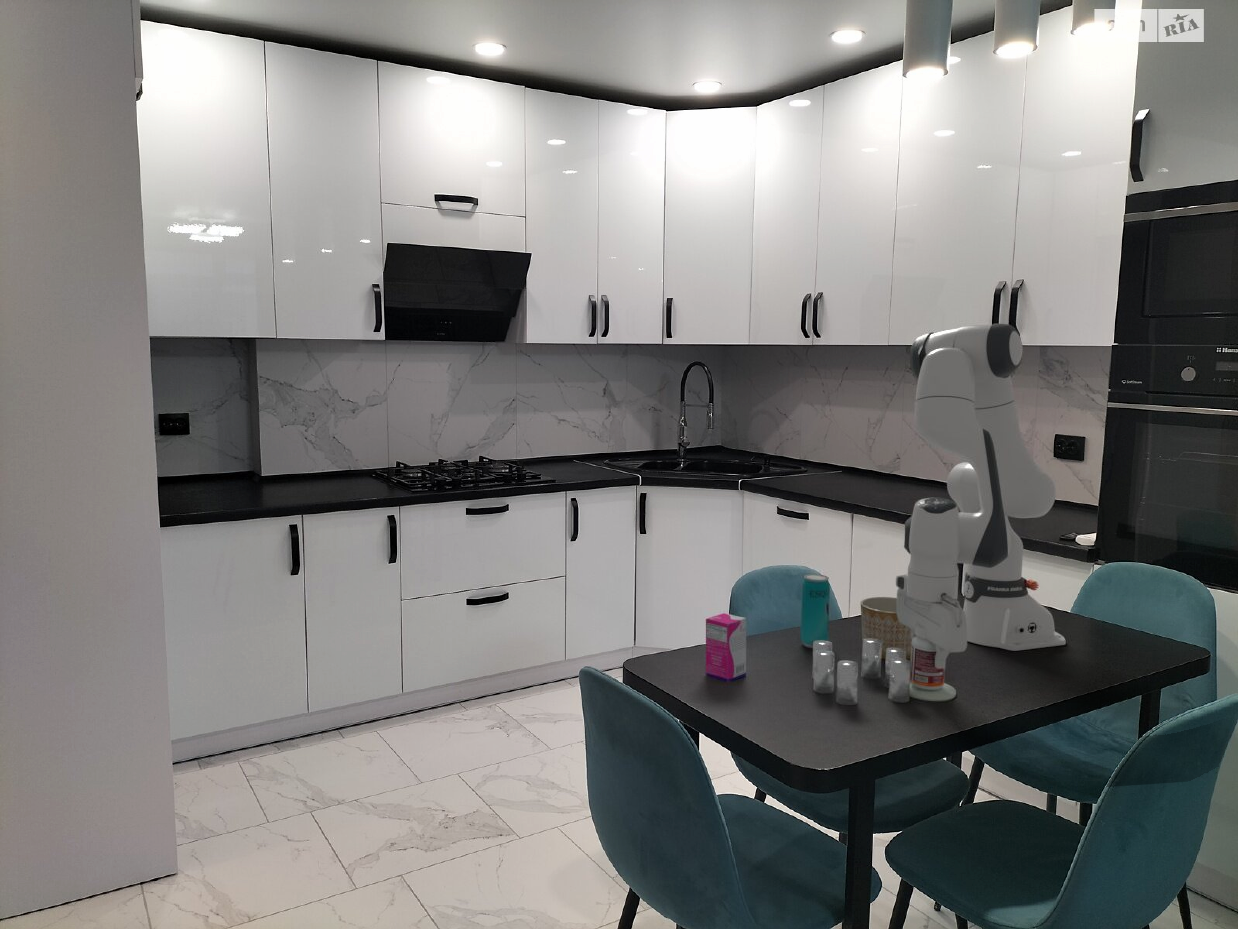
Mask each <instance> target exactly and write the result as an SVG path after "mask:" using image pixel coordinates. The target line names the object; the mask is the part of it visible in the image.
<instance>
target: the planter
mask: <svg viewBox="0 0 1238 929" xmlns="http://www.w3.org/2000/svg"><path fill="white" fill-rule="evenodd" d="M896 604H897V597H891V596H875V597H868V598H867V597H866V598H865V599H864V598H863V599H862V600H861V601H860V618H861V619H860V620H861V635H862V637H861V639H862V640H861V641H863V639H867V638H873V639H878V640H881V641H882V654H881V660H886V649H887V648H901V649H904V650H906V660H910V659H911V643H912V637H911V629H910V628H908V627H907V626H905V625H904V624H902V623H900V622H899V620H898V617H897V605H896Z"/></svg>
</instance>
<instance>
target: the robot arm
mask: <svg viewBox="0 0 1238 929" xmlns="http://www.w3.org/2000/svg"><path fill="white" fill-rule="evenodd" d="M1022 342H1023V341H1022V337H1021V335H1020V333H1019V331H1018V330H1017V329H1016V328H1015V327H1014V326H1012V325H1011V324H1007V323H992V324H990V325H989V324H981V325H980V324H978V325H977V324H976V325H965V326H961V327H957V328H951V329H946V330H943V331H942V330H941V331H937V332H929V333H925V334H923V335H920V336H918V337H917V338H916V339H915V341H914V342H912V345H911V347H910V350H909V364H910V369H911V372H912V373H913V375H914V376H915V377H916V379H917V384H916V390H915V391H916V392H915V401H914V423H915V424H914V425H915V429H916V431H917V433H918V434H919V436H920V437H921V438H922V439H923V440H924V441H925V442H926V443H928V444H929V445H931V446H932V447H934V448H936V449H938V450H939V451H942V452H944V453H948V454H949V455H953V456H955V457H957V458H959V459H961V460H963V462H961V463H960V462H959V463H957V464H955V465H954V467H953V468H952V469H951V470H950V472H949V474H948V477H947V481H946V485H947V486H946V489H947V492H948V495H949V497H950V498H951V499H952V500H951V499H948V498H946V497H945V498H943V497H927V498H922V499H919V500H917V501H916V502H915V504H914V506H913V510H912V514H911V516H910V517H909V518H907V520H906V521H905V522H904V543H903V544H904V545H903V548H904V550H905V551H906V552H907V553H908V554H909V555H910V560H909V564H908V567H907V573H906V574H900V575H896V577H895V586H896V588H898V589H897V591H896V598H897V604H896V605H897V617H898V620H899V622H900V623H902V624H904V625H905V626H907V627H908V628H910V629H911V637H912V639H913V638H914V637H915V636H916V635H915V624H916V623H917V624H919V625H920V626H921V627H923V628H924V629H926V639H927V640H929V641H931V642H932V643H934V644H935V645H936V648H935V649H936V650H937V652H936V656H935V657H933V662H932V664H933V666H935V667H936V668H938V669H941V668H945V669H946V665H945V663H947V662H946V660H947V658H948V656H949V654H950V653H963V652H965V651H966V649H967V647H968V642H969V643H973V644H977V645H980V646H985V647H986V646H987V647H991V648H1000V649H1003V650H1007V651H1013V652H1016V651H1025V650H1032V649H1041V648H1047V647H1048V648H1050V647H1057V646H1064V645H1066V639H1065V637H1064V636H1063V635H1062V634H1060V633H1059V632H1057V631H1055V628H1056V627H1055V620H1054V616H1053V614H1052V613H1051V612H1050V611H1049V610H1048V609H1047V608H1046V607H1044V606H1043V605H1042V603H1040V602H1038V601H1037V600H1036V599H1035V598H1034V597H1033V596H1031V595H1030V594H1029V590H1028V589H1030V590H1031V591H1037V590H1038V588H1039V586H1040V585H1039V583H1038V582H1037V581H1035V580H1033V579H1028V580H1027V579H1026V578H1025V577H1023V576H1022V575H1023V574H1022V572H1023V556H1024V554H1023V553H1024V545H1023V541H1022V539H1021V537H1020V536H1019V535H1018V534H1017V533H1016V532H1015V531H1014V530H1013V528H1012V525H1011V523H1010V521H1009V518H1010V517H1011V518H1018V519H1029V518H1033V519H1034V518H1035V519H1036V518H1040V517H1043V516H1045V515H1046V514H1048V513H1049V512H1050V510H1051V509H1052V507H1053V505H1054V503H1055V500H1056V496H1057V495H1056V493H1057V492H1056V486H1055V483H1054V481H1053V479H1052V477H1050V476H1049V475H1048V474H1047V473H1046V472H1045V471H1044V470H1042V469H1041V467H1039V465H1038V464H1037V462H1036V461H1035V460H1034V457H1032V455H1031V453H1030V451H1029V449H1028V447H1027V445H1026V444H1025V440H1024V439H1023V435H1022V433H1021V428H1020V422H1019V415H1018V411H1017V410H1018V409H1017V404H1016V397H1015V396H1016V395H1015V391H1014V390H1015V389H1014V385H1013V380H1012V377H1011V374H1013V373H1015V371H1016V370H1017V369H1018V368H1019V366H1020V365H1021V362H1022V359H1023V352H1024V348H1023V343H1022ZM964 461H965V462H964ZM958 564H963V565H964V564H967V572H965V573H964V574H965V575H964V584H963V585H964V586H963V587H964V588H963V593H964V594H963V595H964V602H963V608H962V606H961V605H960V601H959V600H958V596H959V595H958V594H959V577H960V576H959V573H960V571H959V570H960V569H959V566H958Z"/></svg>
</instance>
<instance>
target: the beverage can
mask: <svg viewBox="0 0 1238 929" xmlns="http://www.w3.org/2000/svg"><path fill="white" fill-rule="evenodd" d="M803 578H804V579H803V581H802V586H801V587H802V588H801V609H800V610H801V613H800V614H801V615H800V617H801V618H800V639H801V642H802V644H803V646H804V647H806V648H810V649H813V642H814V641H817V640H825V641H828V639H829V620H830V619H829V618H830V617H829V616H830V593H831V592H830V590H831V588H830V587H831V584H830V582H829V580H830V579H829V577H828V576H827V575H823V574H811V573H810V574H806V575H804V576H803Z"/></svg>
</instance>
